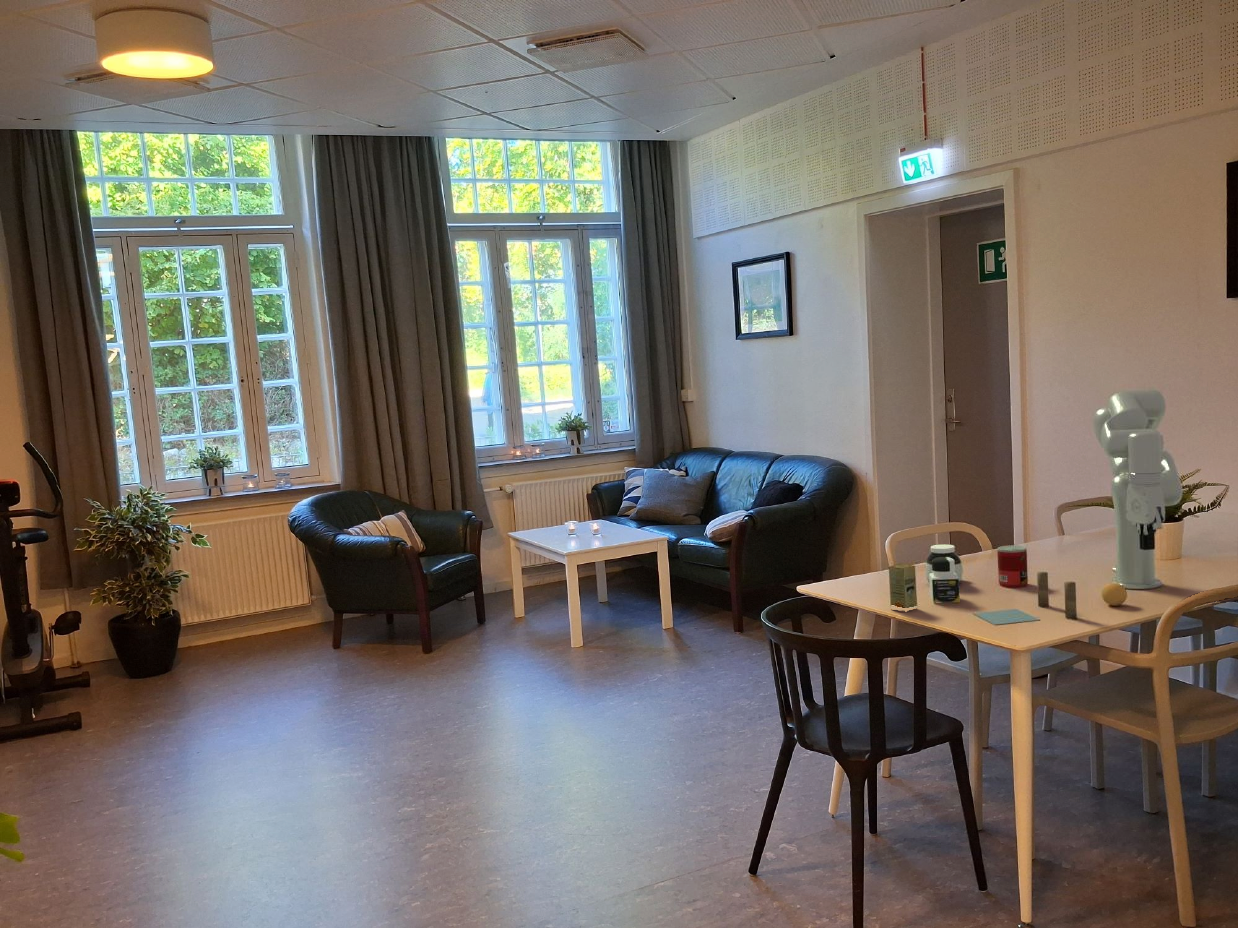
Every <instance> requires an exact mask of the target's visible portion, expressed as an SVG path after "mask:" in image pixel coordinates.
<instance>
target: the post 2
mask: <svg viewBox="0 0 1238 928" xmlns="http://www.w3.org/2000/svg"><path fill="white" fill-rule="evenodd" d="M1063 585H1064V611H1065V612H1064V615H1065V619H1067V620H1069V619H1070V620H1074V619H1075V620H1076V619H1077V618H1078V617H1077V616H1078V614H1077V590H1076V589H1077V587H1076V585H1077V583H1076V582H1075V581H1064V583H1063Z"/></svg>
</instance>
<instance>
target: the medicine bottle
mask: <svg viewBox="0 0 1238 928" xmlns="http://www.w3.org/2000/svg"><path fill="white" fill-rule="evenodd" d="M929 581H930V583H929V597H930V596H931V597H930V599H931V598H932V599H931V601H932V600H933V601H932V603H933V602H959V603H960V601H961V598H960V583H959V578H958V576H957V575H956V573H955V562H954V559H952V558H949V557H938V558H935V559H933V560H932V573H930V574H929Z"/></svg>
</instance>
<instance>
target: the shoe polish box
mask: <svg viewBox="0 0 1238 928" xmlns="http://www.w3.org/2000/svg"><path fill="white" fill-rule="evenodd" d="M916 577H917V576H916V565H913V564H906V563H898V564H894V565H891V566H888V578H889V596H890V597H889V598H890V601H889V602H890V606H891V605H895V606H897V607H902V608H909V607H914V606H917V607H918V601H917V600H918V599H917V598H918V597H917V595H918V594H917V579H916Z"/></svg>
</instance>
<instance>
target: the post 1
mask: <svg viewBox="0 0 1238 928" xmlns="http://www.w3.org/2000/svg"><path fill="white" fill-rule="evenodd" d="M1048 577H1049V574H1048V572H1046V571H1038V572H1036V579H1037V581H1036V582H1037V600H1038V601H1037V605H1038V607H1040V608H1048V607H1050V602H1049V601H1050V599H1049V597H1050V596H1049V578H1048Z"/></svg>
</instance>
